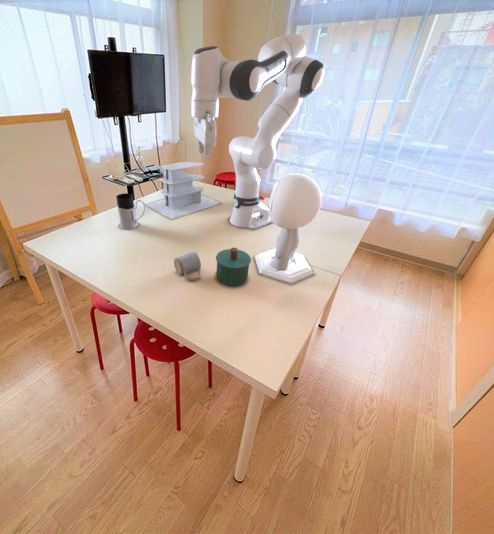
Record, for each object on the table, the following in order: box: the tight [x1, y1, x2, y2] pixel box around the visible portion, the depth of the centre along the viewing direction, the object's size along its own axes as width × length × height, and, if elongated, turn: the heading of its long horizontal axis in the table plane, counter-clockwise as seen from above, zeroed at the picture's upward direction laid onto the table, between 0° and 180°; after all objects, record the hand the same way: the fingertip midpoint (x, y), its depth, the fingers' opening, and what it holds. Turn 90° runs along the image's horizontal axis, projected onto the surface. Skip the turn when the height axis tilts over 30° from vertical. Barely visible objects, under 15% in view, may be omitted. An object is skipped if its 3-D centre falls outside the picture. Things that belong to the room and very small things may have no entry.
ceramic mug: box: [173, 250, 202, 282], centre depth 100 cm, size 11×8×8 cm
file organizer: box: [146, 161, 221, 220], centre depth 152 cm, size 26×35×22 cm
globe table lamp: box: [254, 172, 323, 285], centre depth 96 cm, size 20×23×35 cm
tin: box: [215, 261, 250, 288], centre depth 98 cm, size 11×11×8 cm
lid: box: [215, 247, 252, 269], centre depth 95 cm, size 12×12×5 cm
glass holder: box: [115, 192, 146, 230], centre depth 131 cm, size 9×14×15 cm, turn 74°
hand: (204, 155), depth 96 cm, fingers open, 8 cm apart
